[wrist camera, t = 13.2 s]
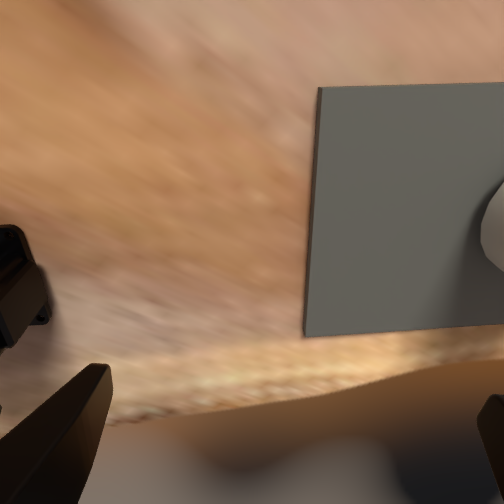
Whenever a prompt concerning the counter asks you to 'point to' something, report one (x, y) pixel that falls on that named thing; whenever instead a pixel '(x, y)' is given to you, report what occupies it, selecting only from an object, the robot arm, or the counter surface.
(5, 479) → the robot arm
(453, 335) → the counter surface
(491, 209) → the can
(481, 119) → the bar mat
